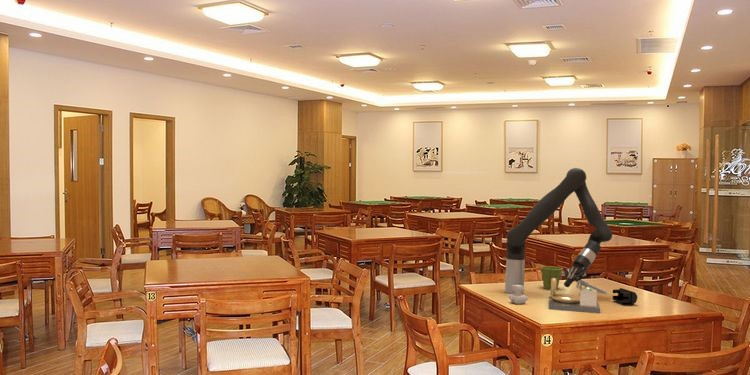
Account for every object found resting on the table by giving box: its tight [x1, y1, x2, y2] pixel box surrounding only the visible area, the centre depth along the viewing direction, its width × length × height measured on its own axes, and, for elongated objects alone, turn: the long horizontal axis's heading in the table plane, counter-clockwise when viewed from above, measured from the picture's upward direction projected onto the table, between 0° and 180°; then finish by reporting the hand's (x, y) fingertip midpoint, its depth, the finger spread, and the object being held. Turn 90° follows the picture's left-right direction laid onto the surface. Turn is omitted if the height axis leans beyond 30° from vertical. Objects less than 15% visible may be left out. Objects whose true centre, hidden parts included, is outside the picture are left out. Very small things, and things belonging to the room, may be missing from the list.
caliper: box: [576, 279, 609, 295], centre depth 337 cm, size 20×1×6 cm, turn 31°
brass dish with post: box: [550, 278, 580, 303], centre depth 299 cm, size 13×13×10 cm
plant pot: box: [539, 265, 564, 291], centre depth 340 cm, size 12×12×11 cm
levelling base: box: [548, 286, 601, 314], centre depth 295 cm, size 22×20×10 cm
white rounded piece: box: [508, 285, 529, 305], centre depth 300 cm, size 9×7×8 cm
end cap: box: [612, 287, 638, 307], centre depth 305 cm, size 10×7×7 cm
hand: (565, 286), depth 307 cm, fingers closed
